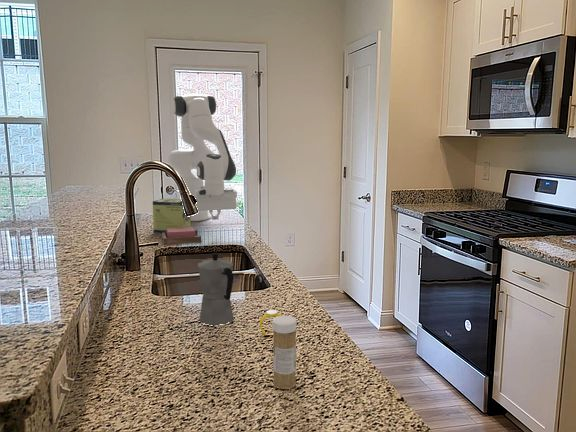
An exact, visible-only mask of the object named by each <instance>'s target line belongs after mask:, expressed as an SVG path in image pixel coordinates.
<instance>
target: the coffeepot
mask: <svg viewBox="0 0 576 432" xmlns="http://www.w3.org/2000/svg"><path fill="white" fill-rule="evenodd" d="M211 255H212V259H210V258H209V259H204V260H201V262H199V263H197V268H198V273H199V275H198V276H199V279H200V285H201V286H200V287H201V291H202V299H201V307H200V314H199V321H200V322H202V323H205V324H209V325H219V324H226V323H228V322H230V321H232V320H234V321H235V318H234V313H233V306H232V302H231V295H232V291H233V289H232V288H233V285H234V279H235V277H234V273H233V270H234V264H233V261H230V260H225V259H218V257H219V253H218V252H214V253H212V254H211ZM200 322H199V323H200Z"/></svg>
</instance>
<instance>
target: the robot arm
mask: <svg viewBox="0 0 576 432" xmlns="http://www.w3.org/2000/svg"><path fill="white" fill-rule="evenodd" d="M171 108H172V110H173V113H174V114H175V115H176V116H177V117H181V119H180V125H181V126H180V128H181V129H180V132H181V139H182V141H183V142H184V143H186V144H187V145H190V146H192V148H191V149H189V148H188V149H187V148H186V149H185V148H184V149H182V148H181V149H175V150H171V151H170V152H169V154H168V157H167V161H168V164H169V166H170V168H172V167H173V168H174V169H173V168H172V169H173V170H175V171H176V172H177V173H178V175H179V174H180V175H181V176H182V178H183V179H184V181H185V183H186V185H187V187H188V189H189V191H190V193H191V194H192V195H194V197H195V198H196V200H197V204H196V206H197V208H198V211H199V213H198V214H196V215H194V216H191V222H198V221H206V220H209V219H211V220H215V221H216V220H219V217H220V214H221V213H222V211H224V210H228V211H229V210H236V209H237V208H238V205H237V204H238V202H237V198H238V192H237V190H235V189H233V188H231V189H227V188H226V189H225V181H228V182H229V181H231V180H232V179H234V177H235V176H236V175H237V168H236V165H235V162H234V160H233V158H232V156H231V153H230V151H229V147H228V145H227V142H226V140H225V137H224V134H223V132H222V130H221V129H220V128H218V127H217V126H216V125H215V124H214V122H213V117H212V116H213V115H214V114H215V113H216V112H217V111H216V110H217V101H216V99H215V97H214V96H213V95H212V94H211V95H210V94H198V93H193V94H184V95H182V94H181V95H180V94H179V95H176V96H175V97H174V98H173V100H172V104H171ZM205 141H206V142H209V143H212V145H214V146H215V147H216V148H217V151H218V154H217V153H215V152H214V151H213V150H212V149H211V148H209V147H208V145H207V144H206V143H205ZM192 170H196V174H193V172H192ZM180 175H179V176H180ZM214 211H216V212H217V213H216V215H215V214H213V213H214ZM209 214H210V215H209Z"/></svg>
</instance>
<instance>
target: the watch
mask: <svg viewBox="0 0 576 432" xmlns="http://www.w3.org/2000/svg"><path fill="white" fill-rule="evenodd" d="M278 316H283V315H282V314H281V313H280V312H278V310H277V309H270V310H266V312H265V313H264V314H263V315H262V316H261V319H260V321H259V328H260V329H259V330H261V333H262V335H264V334H266V333H267V332H266V331H265V330H264V329H263V322H264V320H265V319H266V318H268V317H269V318H270V317H271V318H273V317H274V318H275V317H278ZM265 332H266V333H265Z"/></svg>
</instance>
